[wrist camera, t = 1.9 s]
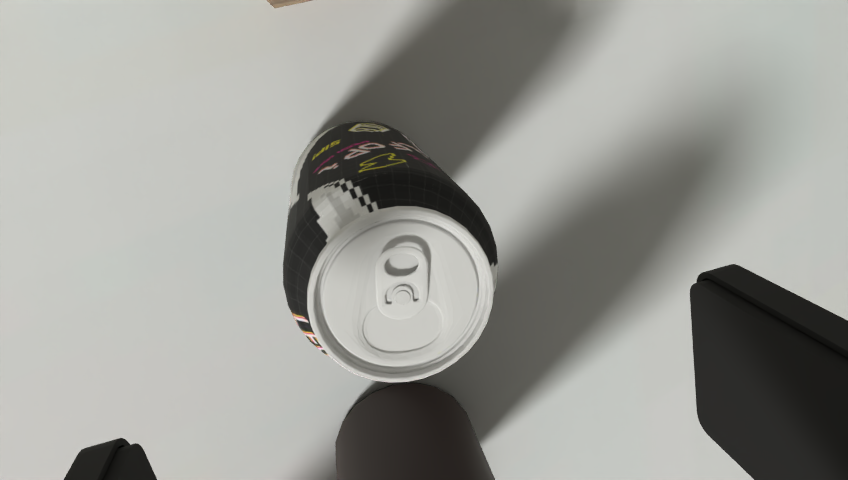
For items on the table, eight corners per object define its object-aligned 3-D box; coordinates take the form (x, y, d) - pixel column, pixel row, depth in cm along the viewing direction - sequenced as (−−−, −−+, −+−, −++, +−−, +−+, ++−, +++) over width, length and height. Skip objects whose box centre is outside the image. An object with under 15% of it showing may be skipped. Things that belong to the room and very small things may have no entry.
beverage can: (424, 114, 25) (521, 174, 14) (429, 244, 27) (517, 390, 16) (284, 122, 24) (266, 193, 13) (298, 256, 26) (293, 420, 15)
